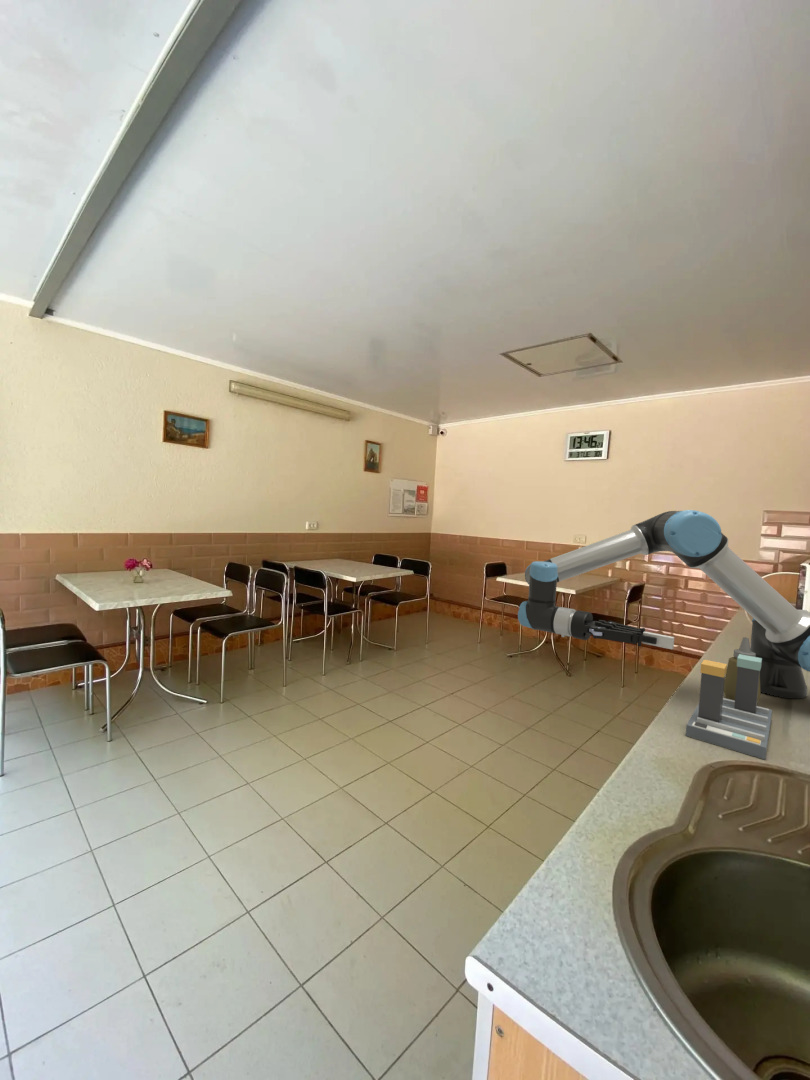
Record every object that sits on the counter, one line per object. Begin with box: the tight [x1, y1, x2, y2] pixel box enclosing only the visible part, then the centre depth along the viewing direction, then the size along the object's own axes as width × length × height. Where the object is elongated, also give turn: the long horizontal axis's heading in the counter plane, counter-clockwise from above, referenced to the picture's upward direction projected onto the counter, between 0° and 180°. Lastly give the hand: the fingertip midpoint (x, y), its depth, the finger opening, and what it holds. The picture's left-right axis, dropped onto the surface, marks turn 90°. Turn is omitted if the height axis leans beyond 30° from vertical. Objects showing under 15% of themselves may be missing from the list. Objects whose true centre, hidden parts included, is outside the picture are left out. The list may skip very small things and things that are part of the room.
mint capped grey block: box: [734, 654, 762, 714], centre depth 109 cm, size 4×4×13 cm
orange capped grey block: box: [698, 659, 728, 723], centre depth 104 cm, size 4×4×13 cm
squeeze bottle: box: [723, 637, 762, 704], centre depth 119 cm, size 8×8×18 cm
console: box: [685, 697, 773, 761], centre depth 107 cm, size 25×14×4 cm, turn 139°
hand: (673, 643), depth 108 cm, fingers closed
